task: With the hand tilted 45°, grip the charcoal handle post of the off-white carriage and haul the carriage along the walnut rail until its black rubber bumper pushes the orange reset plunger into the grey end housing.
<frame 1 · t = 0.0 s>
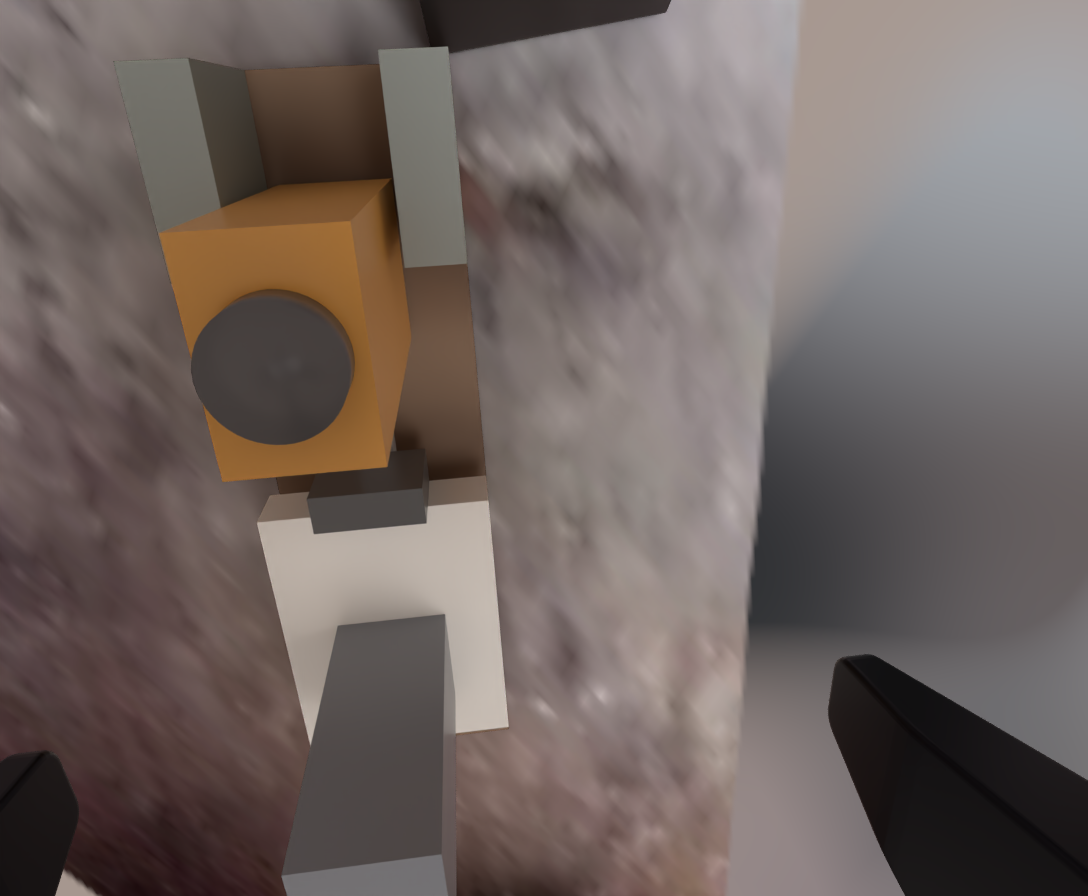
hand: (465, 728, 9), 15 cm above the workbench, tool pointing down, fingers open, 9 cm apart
end housing: (342, 155, 19), resting on rail bed
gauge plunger: (320, 305, 15), point 6 cm above the workbench, slide at 0.0 cm
rail bed: (386, 450, 23), on the workbench
carriage: (382, 695, 18), point 7 cm above the workbench, slide at 0.0 cm
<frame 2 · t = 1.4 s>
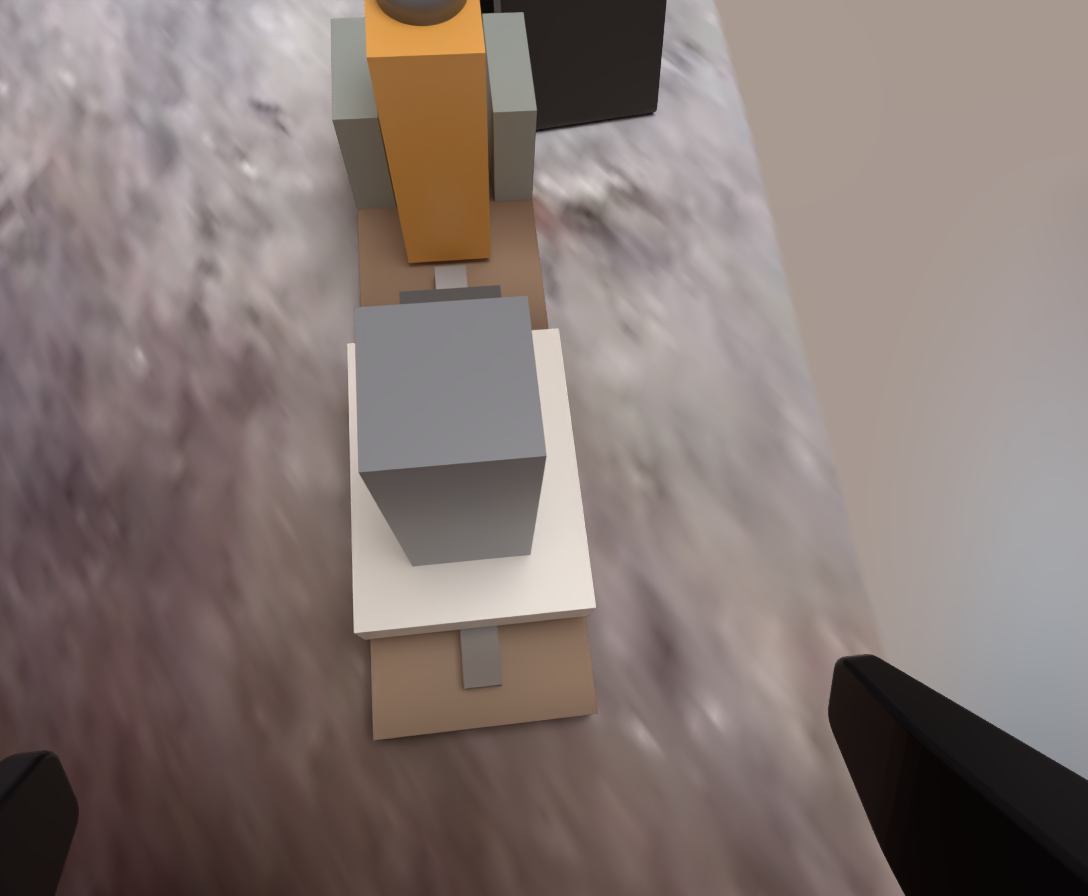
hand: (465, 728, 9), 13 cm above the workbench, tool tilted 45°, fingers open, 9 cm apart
end housing: (445, 186, 28), resting on rail bed
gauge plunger: (434, 109, 21), point 6 cm above the workbench, slide at 0.0 cm
phone stand: (555, 47, 31), on the workbench
rail bed: (461, 393, 25), on the workbench
carriage: (456, 405, 17), point 7 cm above the workbench, slide at 0.0 cm
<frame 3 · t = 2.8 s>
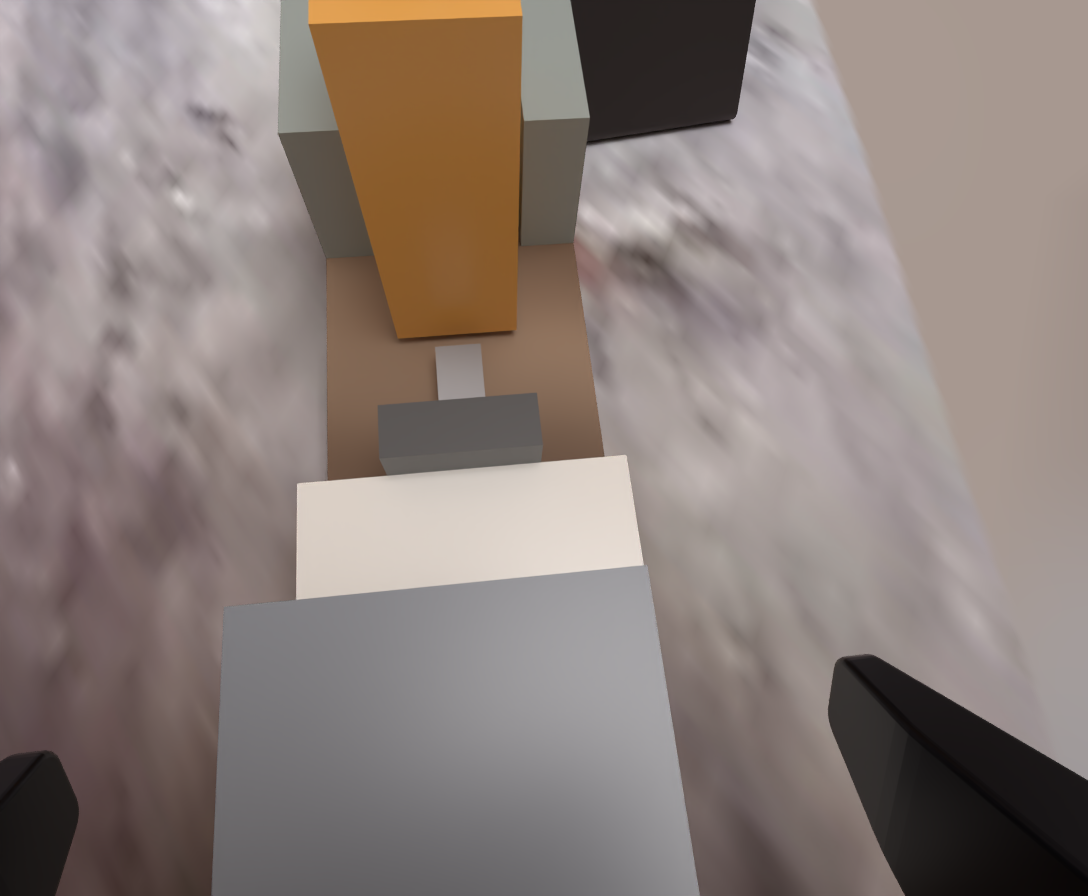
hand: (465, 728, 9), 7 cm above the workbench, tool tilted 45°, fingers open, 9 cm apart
end housing: (450, 222, 20), resting on rail bed
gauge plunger: (434, 117, 13), point 6 cm above the workbench, slide at 0.0 cm
phone stand: (596, 34, 23), on the workbench
rail bed: (474, 524, 17), on the workbench
carriage: (470, 648, 9), point 7 cm above the workbench, slide at 0.0 cm
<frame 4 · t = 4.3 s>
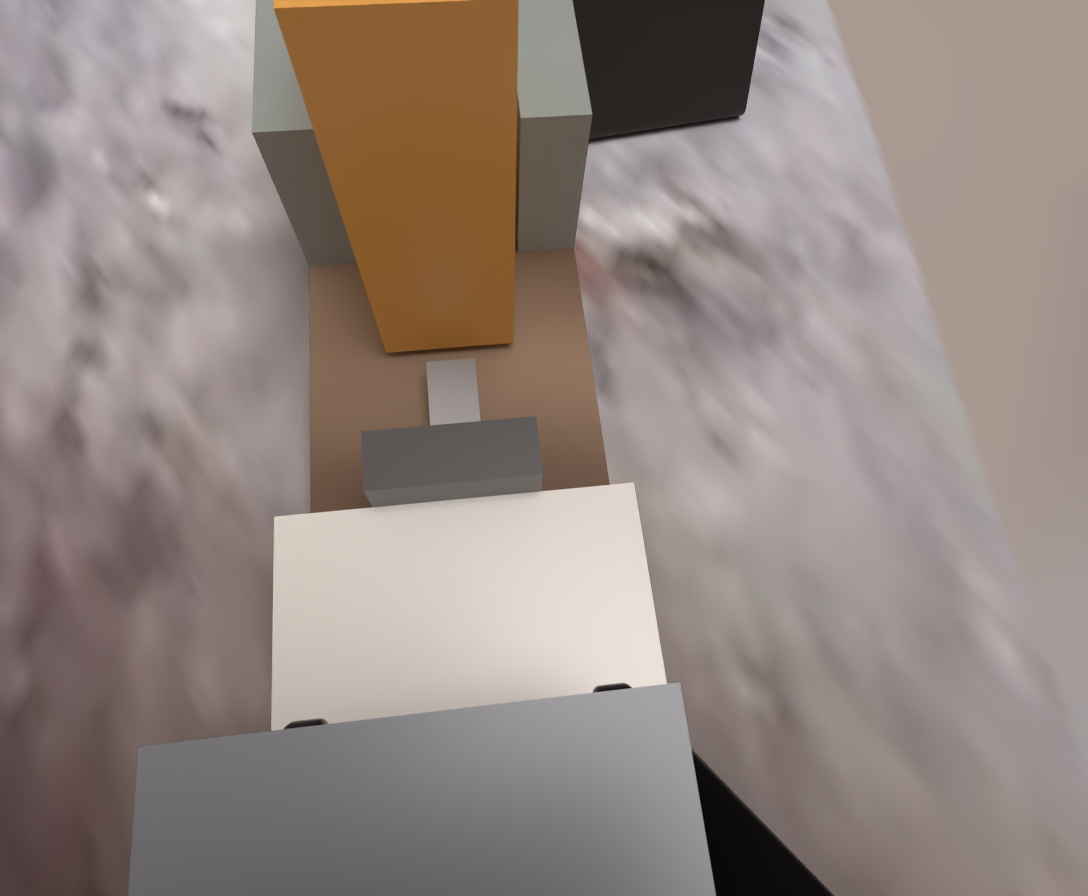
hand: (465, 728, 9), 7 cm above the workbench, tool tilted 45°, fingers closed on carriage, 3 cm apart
end housing: (443, 226, 19), resting on rail bed
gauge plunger: (422, 114, 12), point 6 cm above the workbench, slide at 0.0 cm
phone stand: (597, 26, 22), on the workbench
rail bed: (469, 550, 16), on the workbench
carriage: (463, 719, 8), point 7 cm above the workbench, slide at 0.0 cm, touching gripper
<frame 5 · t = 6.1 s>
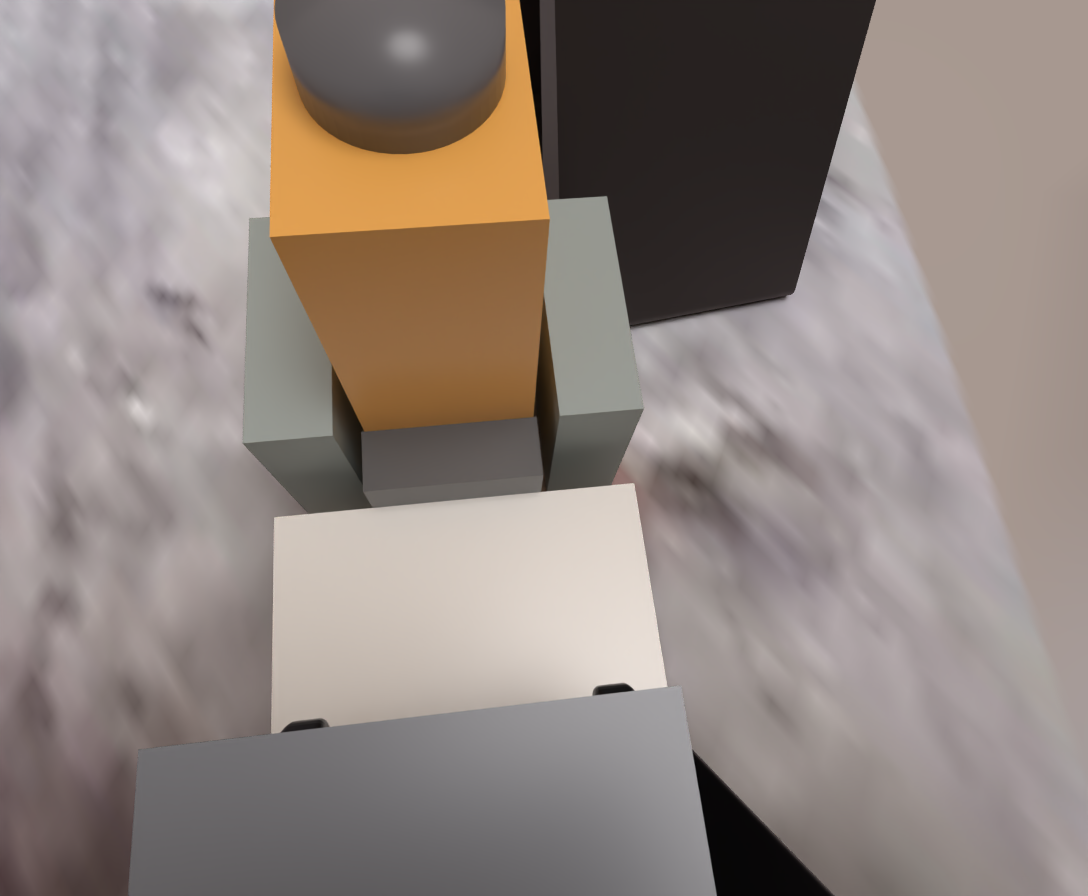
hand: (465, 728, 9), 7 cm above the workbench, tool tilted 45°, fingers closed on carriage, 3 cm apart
end housing: (460, 436, 17), resting on rail bed
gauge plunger: (433, 268, 11), point 6 cm above the workbench, slide at 2.8 cm, touching carriage
phone stand: (626, 183, 20), on the workbench
carriage: (463, 720, 8), point 7 cm above the workbench, slide at 5.8 cm, touching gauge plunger, gripper
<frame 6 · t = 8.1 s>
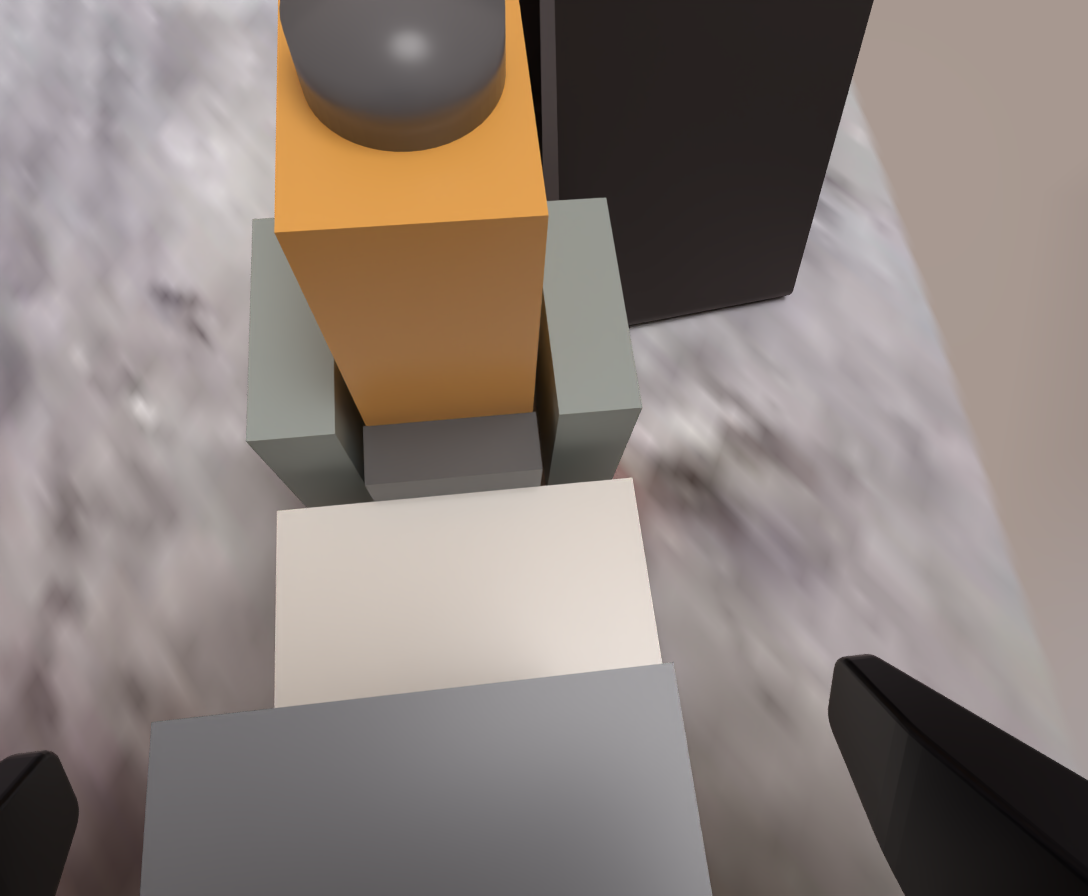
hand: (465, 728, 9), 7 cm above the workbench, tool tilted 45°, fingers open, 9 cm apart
end housing: (460, 435, 17), resting on rail bed
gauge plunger: (434, 264, 11), point 6 cm above the workbench, slide at 2.9 cm, touching carriage
phone stand: (626, 184, 20), on the workbench
carriage: (463, 707, 8), point 7 cm above the workbench, slide at 5.9 cm, touching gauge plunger
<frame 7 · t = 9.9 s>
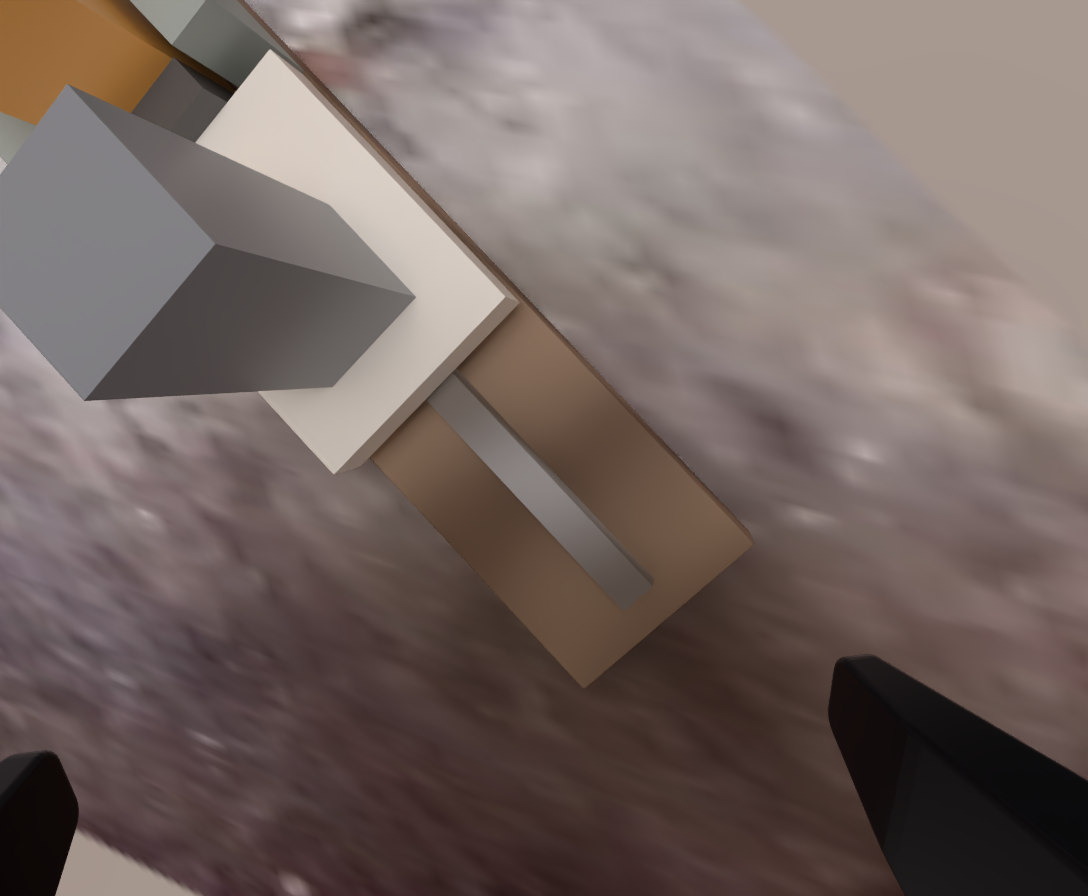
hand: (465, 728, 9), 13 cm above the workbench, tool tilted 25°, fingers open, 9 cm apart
end housing: (218, 123, 22), resting on rail bed
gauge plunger: (26, 15, 16), point 6 cm above the workbench, slide at 2.9 cm, touching carriage
rail bed: (414, 331, 21), on the workbench
carriage: (209, 228, 15), point 7 cm above the workbench, slide at 5.9 cm, touching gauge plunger
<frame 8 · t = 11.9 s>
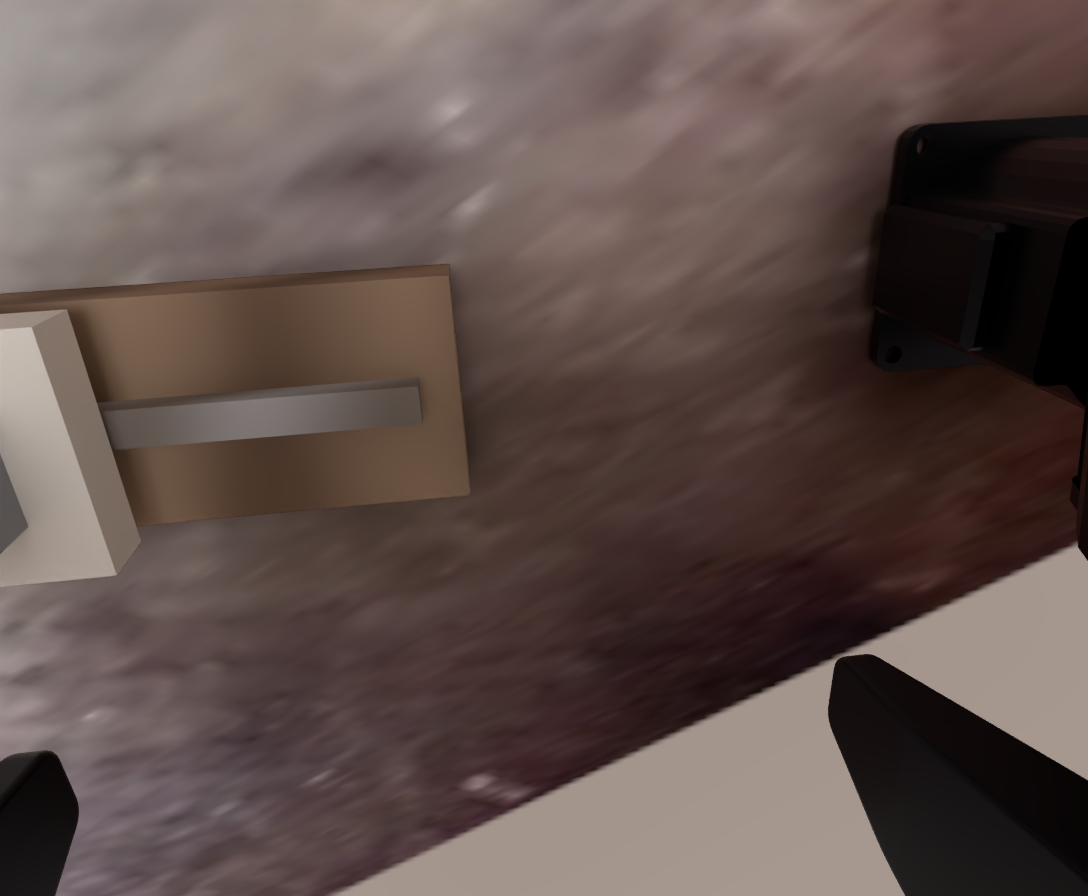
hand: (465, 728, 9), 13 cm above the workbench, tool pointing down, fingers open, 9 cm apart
rail bed: (61, 405, 20), on the workbench
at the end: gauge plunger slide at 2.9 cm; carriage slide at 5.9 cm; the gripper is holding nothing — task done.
